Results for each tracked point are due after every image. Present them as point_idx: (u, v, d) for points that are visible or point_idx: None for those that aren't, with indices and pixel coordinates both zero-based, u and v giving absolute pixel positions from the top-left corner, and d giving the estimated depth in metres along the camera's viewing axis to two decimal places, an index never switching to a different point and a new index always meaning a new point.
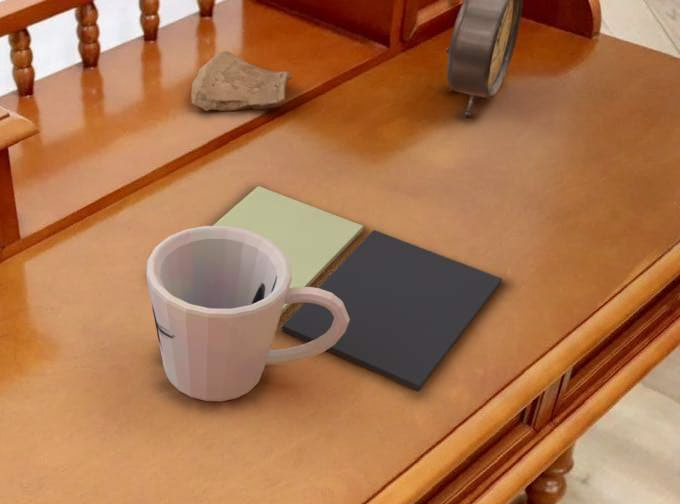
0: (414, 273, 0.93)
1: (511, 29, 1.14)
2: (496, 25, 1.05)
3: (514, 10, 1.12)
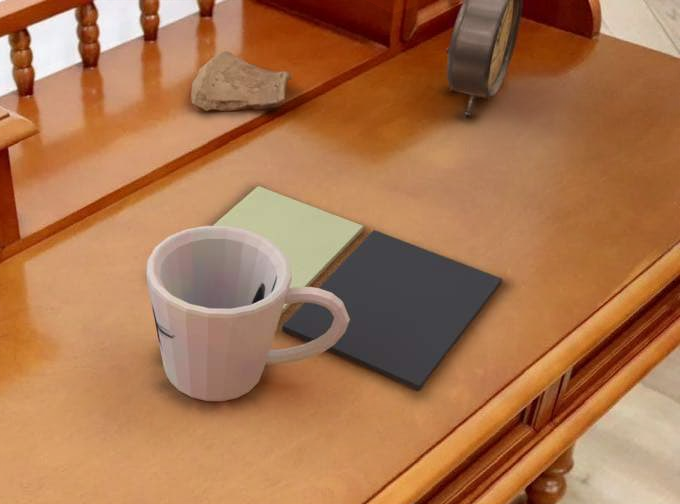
0: (414, 273, 0.93)
1: (511, 29, 1.14)
2: (496, 25, 1.05)
3: (514, 10, 1.12)
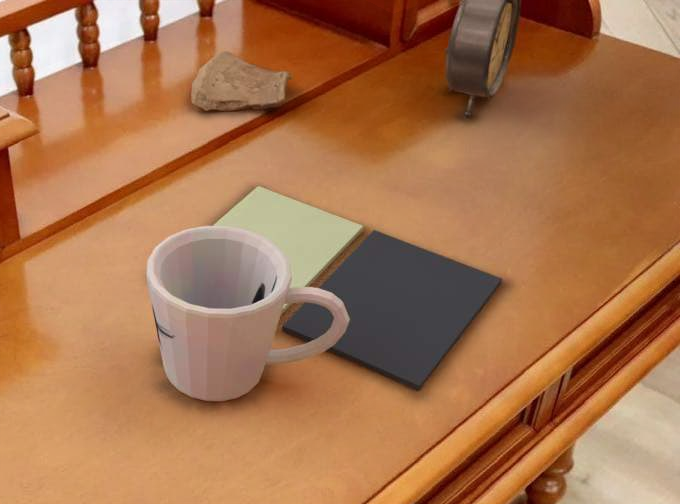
0: (414, 273, 0.93)
1: (510, 28, 1.14)
2: (494, 25, 1.05)
3: (513, 9, 1.12)
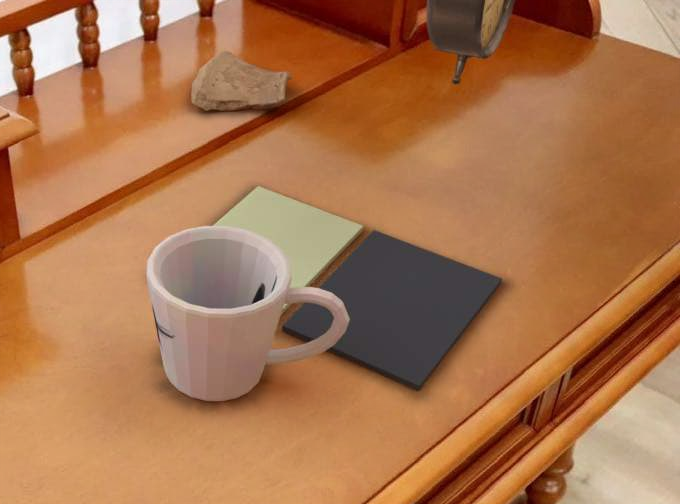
0: (414, 273, 0.93)
1: None
2: None
3: None
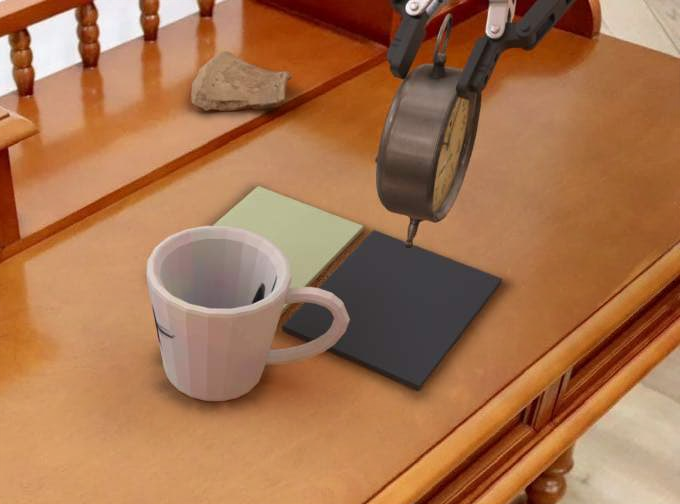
0: (414, 273, 0.93)
1: (468, 123, 0.82)
2: (440, 129, 0.74)
3: (471, 98, 0.81)
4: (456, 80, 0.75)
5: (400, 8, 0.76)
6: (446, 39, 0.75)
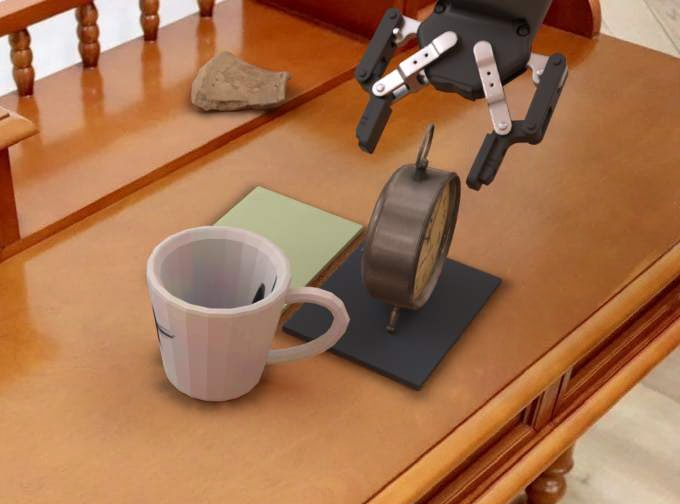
0: None
1: (448, 215, 0.88)
2: (421, 230, 0.80)
3: (451, 194, 0.87)
4: (437, 183, 0.81)
5: (367, 88, 0.82)
6: (428, 144, 0.81)
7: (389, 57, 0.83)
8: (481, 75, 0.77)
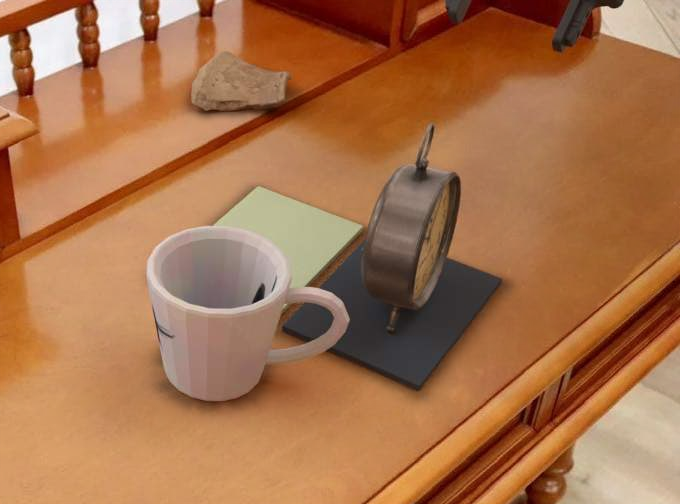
0: None
1: (448, 215, 0.88)
2: (421, 230, 0.80)
3: (451, 194, 0.87)
4: (437, 183, 0.81)
5: None
6: (428, 144, 0.81)
7: None
8: None
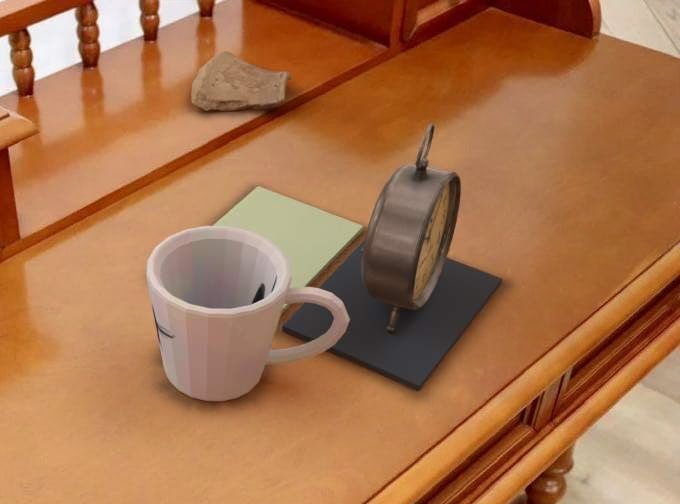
0: None
1: (448, 215, 0.88)
2: (421, 230, 0.80)
3: (451, 194, 0.87)
4: (437, 183, 0.81)
5: None
6: (428, 144, 0.81)
7: None
8: None
